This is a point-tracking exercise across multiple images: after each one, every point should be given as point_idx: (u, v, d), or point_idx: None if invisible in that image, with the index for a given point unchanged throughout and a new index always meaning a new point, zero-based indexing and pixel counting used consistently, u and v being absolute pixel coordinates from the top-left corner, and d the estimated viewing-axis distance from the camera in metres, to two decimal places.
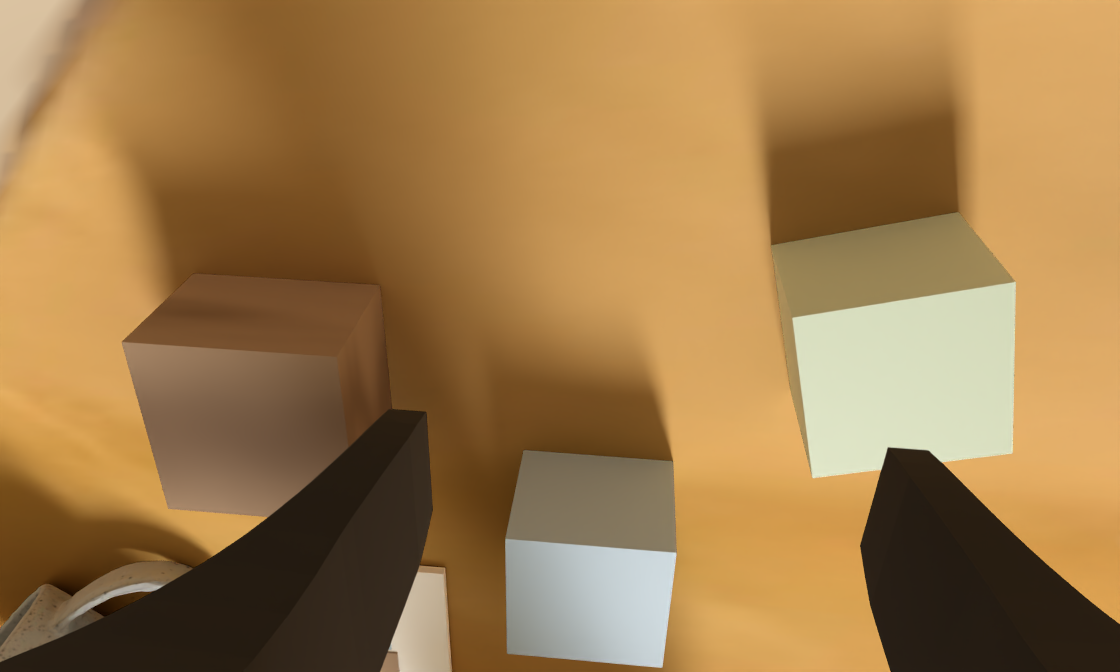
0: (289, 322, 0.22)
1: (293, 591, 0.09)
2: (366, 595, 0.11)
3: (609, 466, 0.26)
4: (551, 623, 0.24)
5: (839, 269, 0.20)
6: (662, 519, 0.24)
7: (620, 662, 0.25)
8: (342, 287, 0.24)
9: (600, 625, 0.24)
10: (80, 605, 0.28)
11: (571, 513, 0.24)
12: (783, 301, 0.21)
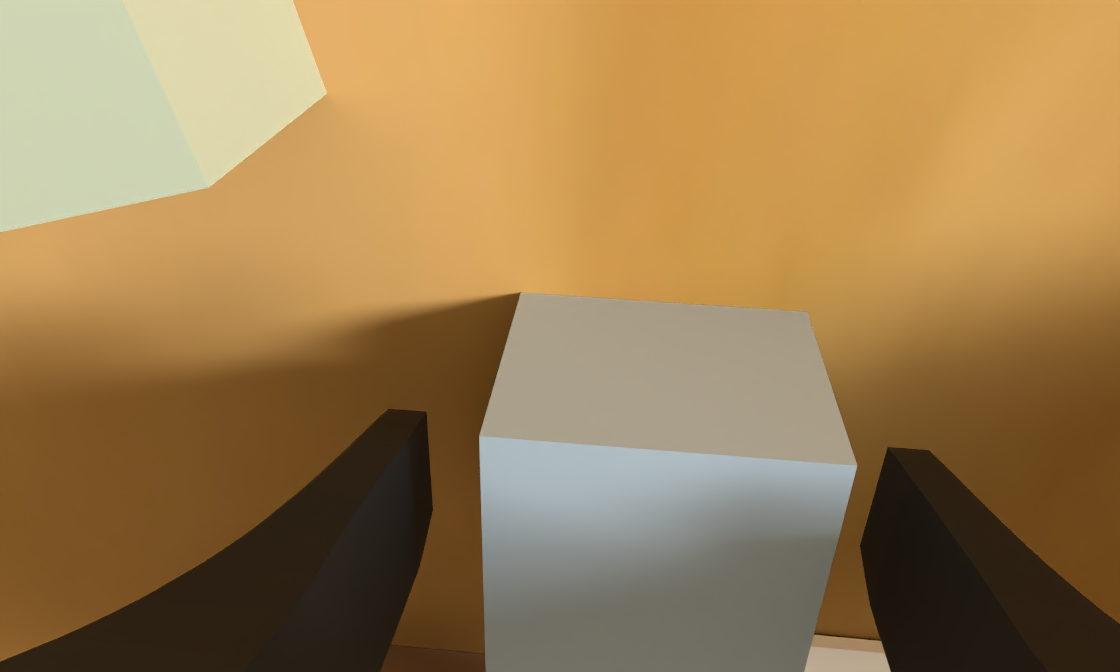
0: None
1: (293, 591, 0.09)
2: (366, 595, 0.11)
3: None
4: (704, 640, 0.12)
5: None
6: None
7: (837, 539, 0.11)
8: None
9: (708, 568, 0.11)
10: None
11: None
12: None
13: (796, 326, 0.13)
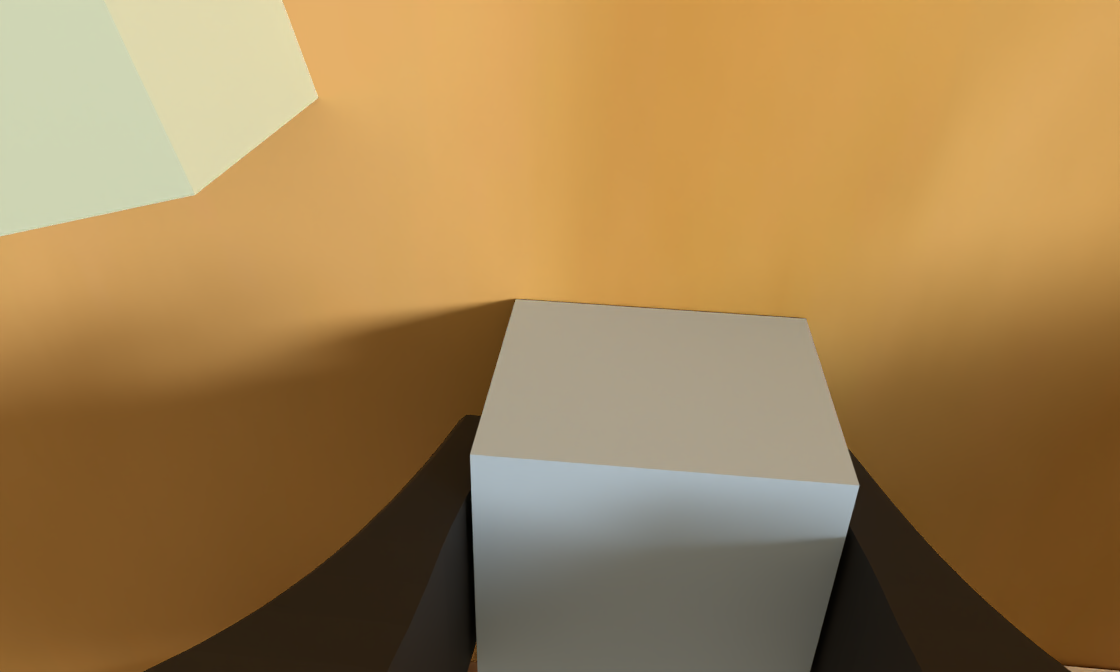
0: None
1: (408, 601, 0.09)
2: (458, 603, 0.11)
3: None
4: (702, 661, 0.12)
5: None
6: None
7: (838, 560, 0.11)
8: None
9: (706, 588, 0.11)
10: None
11: None
12: None
13: (796, 337, 0.13)
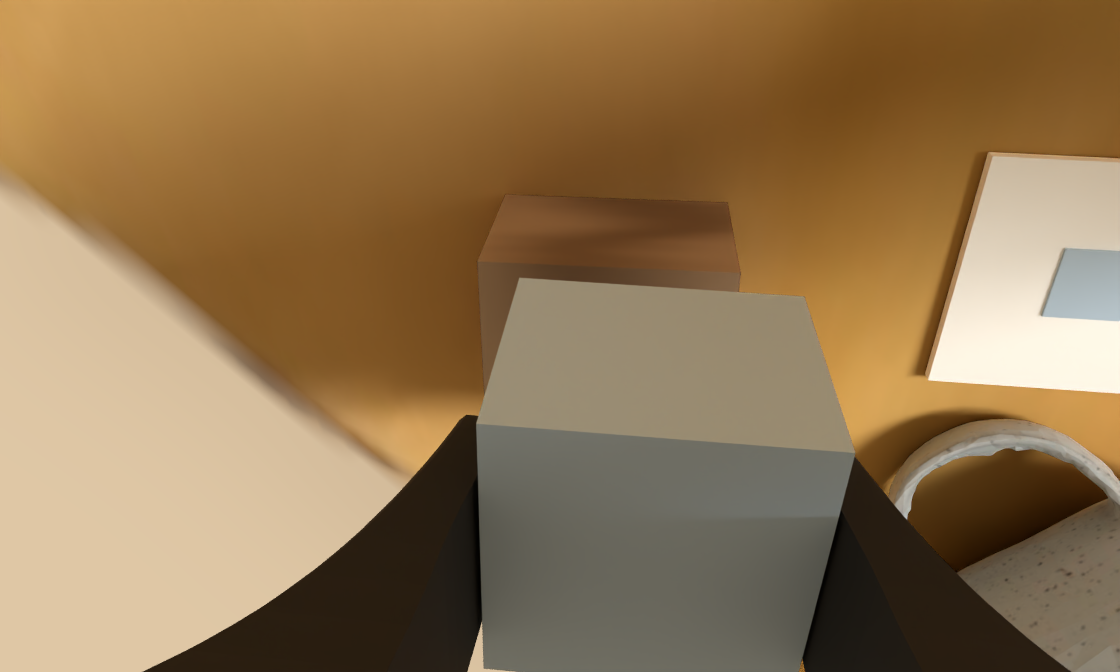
0: None
1: (408, 601, 0.09)
2: (458, 603, 0.11)
3: None
4: (702, 628, 0.12)
5: None
6: None
7: (835, 527, 0.11)
8: None
9: (706, 555, 0.11)
10: None
11: None
12: None
13: (794, 314, 0.13)
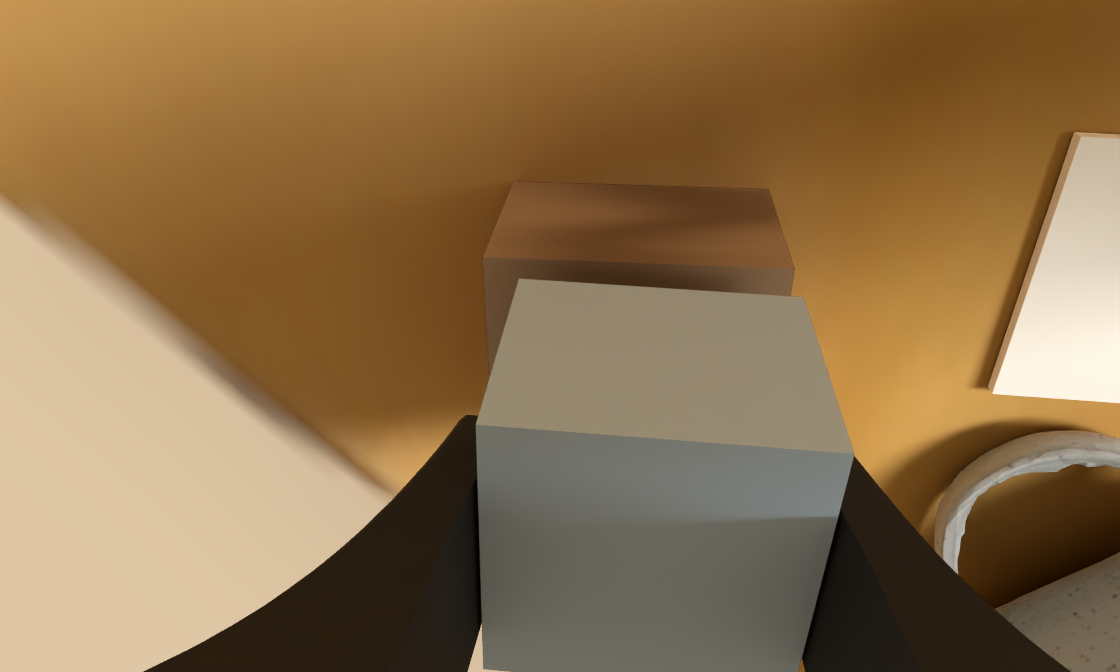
0: None
1: (408, 601, 0.09)
2: (458, 603, 0.11)
3: None
4: (701, 628, 0.12)
5: None
6: None
7: (834, 528, 0.11)
8: None
9: (705, 556, 0.11)
10: None
11: None
12: None
13: (794, 315, 0.13)
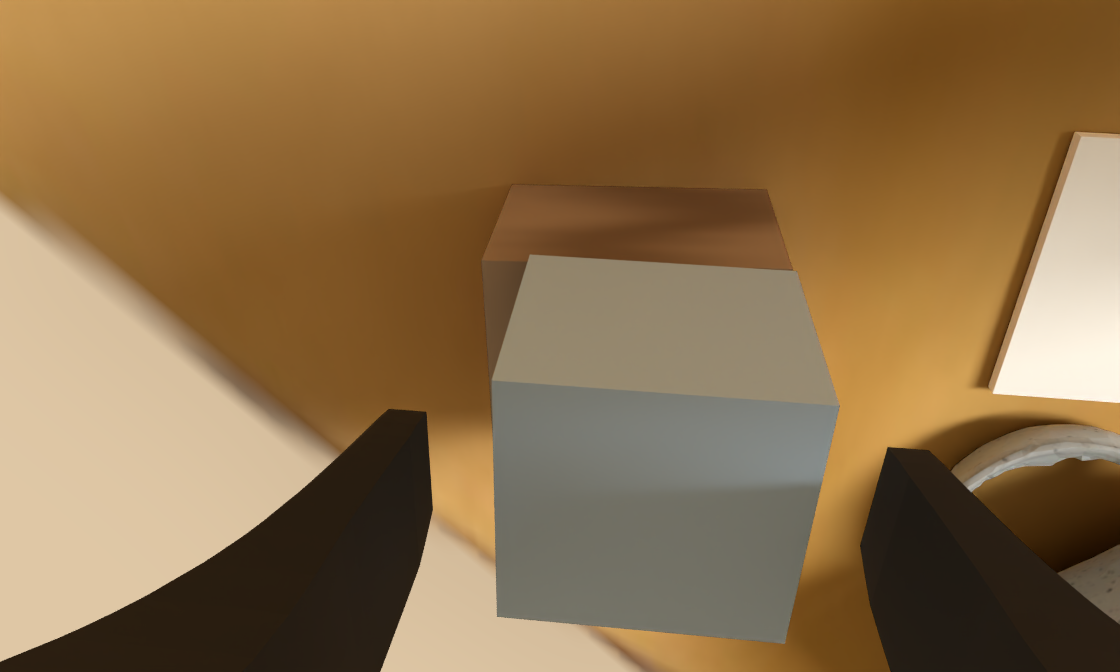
0: None
1: (293, 591, 0.09)
2: (366, 595, 0.11)
3: None
4: (701, 575, 0.13)
5: None
6: None
7: (822, 477, 0.12)
8: None
9: (704, 505, 0.12)
10: None
11: None
12: None
13: (787, 287, 0.14)
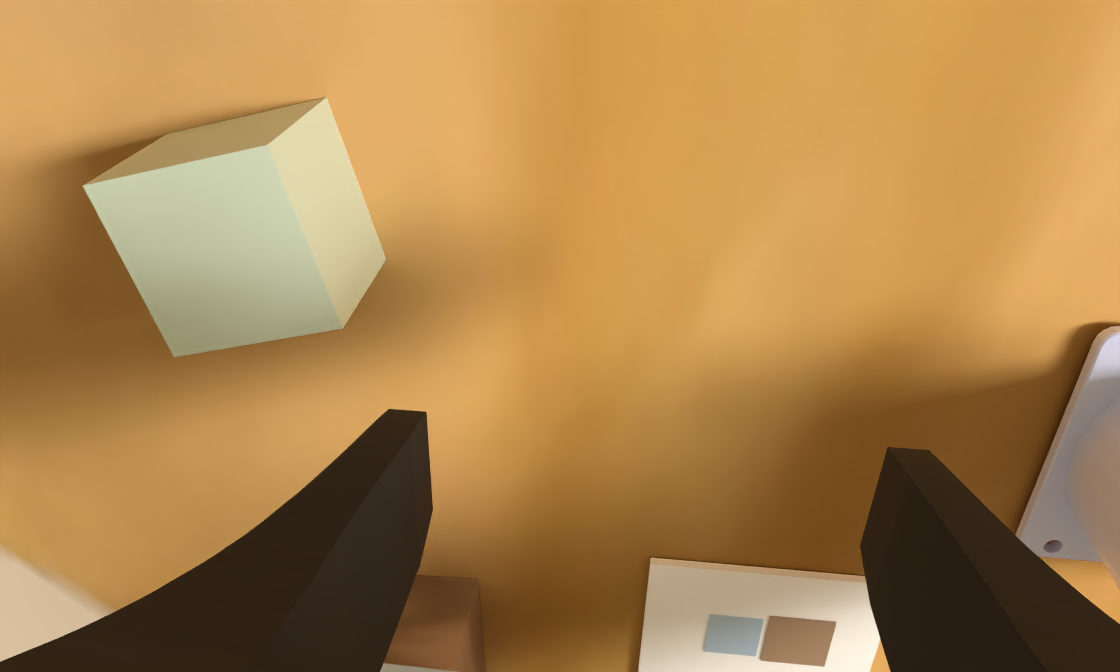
0: None
1: (293, 591, 0.09)
2: (366, 595, 0.11)
3: None
4: None
5: None
6: None
7: None
8: None
9: None
10: None
11: None
12: None
13: None
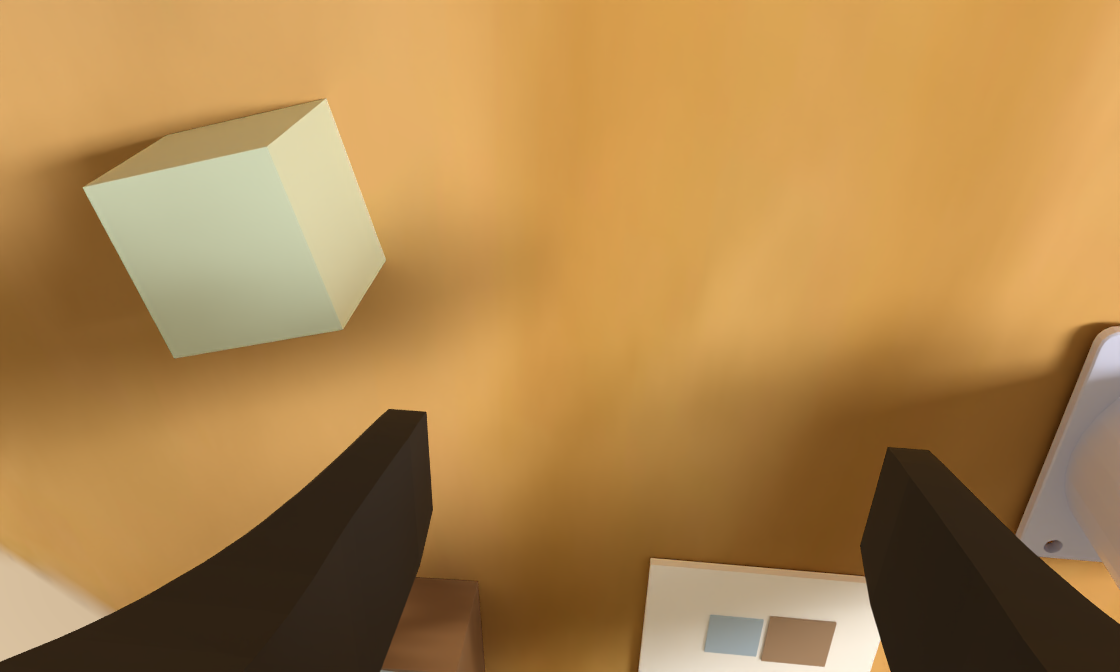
0: None
1: (293, 591, 0.09)
2: (366, 595, 0.11)
3: None
4: None
5: None
6: None
7: None
8: None
9: None
10: None
11: None
12: None
13: None
